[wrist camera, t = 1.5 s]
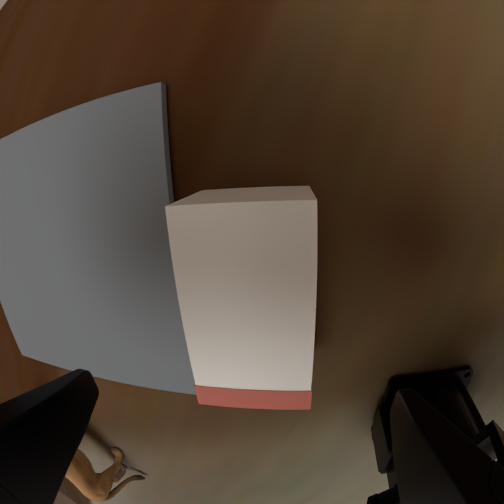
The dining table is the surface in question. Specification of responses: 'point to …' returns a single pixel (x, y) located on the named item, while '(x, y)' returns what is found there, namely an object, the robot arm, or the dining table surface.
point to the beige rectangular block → (248, 293)
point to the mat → (94, 242)
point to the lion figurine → (98, 477)
